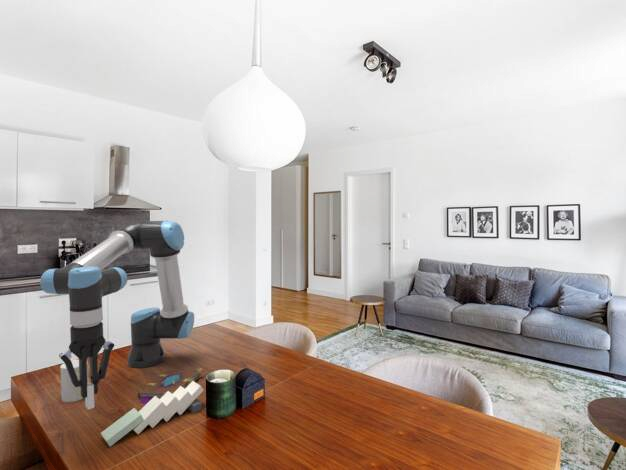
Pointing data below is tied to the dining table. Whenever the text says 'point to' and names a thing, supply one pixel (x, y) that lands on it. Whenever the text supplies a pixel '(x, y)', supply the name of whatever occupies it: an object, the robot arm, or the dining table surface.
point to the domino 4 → (182, 397)
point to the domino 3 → (169, 402)
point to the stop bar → (195, 406)
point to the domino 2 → (149, 413)
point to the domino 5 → (195, 392)
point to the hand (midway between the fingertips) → (89, 406)
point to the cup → (70, 383)
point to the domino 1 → (122, 426)
